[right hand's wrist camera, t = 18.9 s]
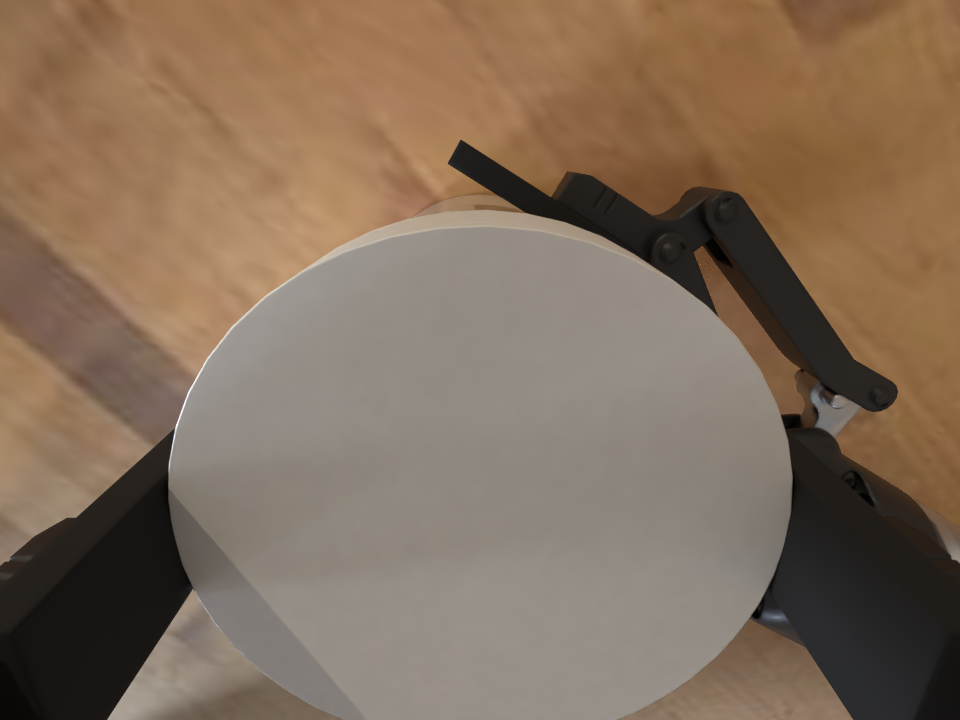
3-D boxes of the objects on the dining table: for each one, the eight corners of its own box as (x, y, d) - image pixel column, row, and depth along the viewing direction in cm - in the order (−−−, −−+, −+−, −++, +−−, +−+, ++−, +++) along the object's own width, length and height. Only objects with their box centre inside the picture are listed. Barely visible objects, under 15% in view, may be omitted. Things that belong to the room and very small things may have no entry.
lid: (198, 603, 14) (145, 688, 12) (263, 130, 10) (201, 123, 8) (622, 694, 15) (646, 787, 13) (834, 303, 11) (922, 341, 9)
